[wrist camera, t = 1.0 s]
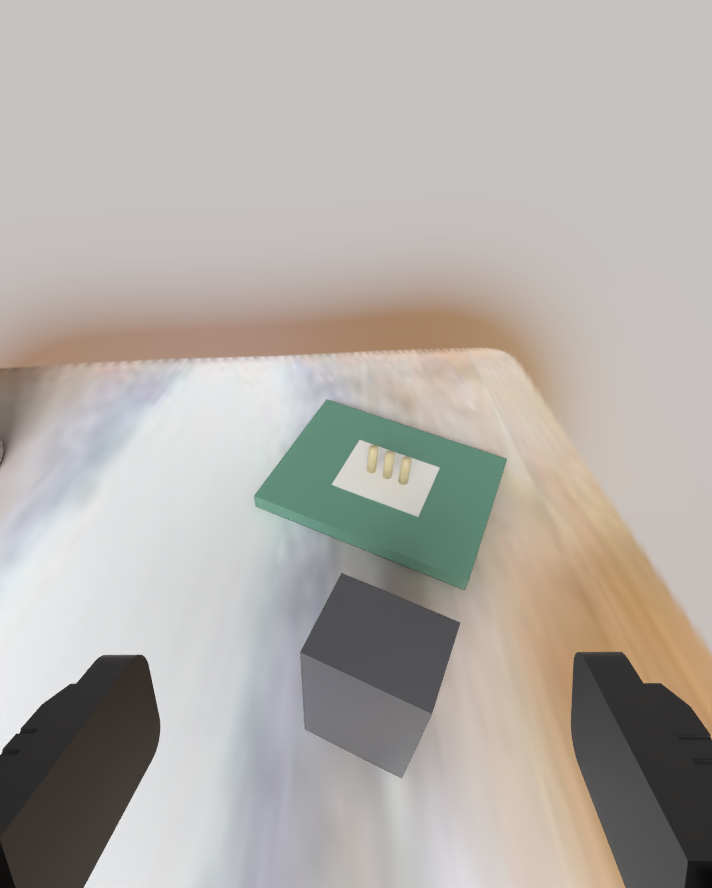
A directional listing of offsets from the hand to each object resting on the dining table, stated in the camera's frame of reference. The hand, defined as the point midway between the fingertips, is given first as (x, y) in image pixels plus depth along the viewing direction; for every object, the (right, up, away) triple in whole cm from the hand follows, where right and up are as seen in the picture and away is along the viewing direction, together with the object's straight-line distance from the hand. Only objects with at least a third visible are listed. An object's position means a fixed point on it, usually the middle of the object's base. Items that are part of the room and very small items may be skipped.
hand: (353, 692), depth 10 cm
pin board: (+2, +1, +31) cm, 31 cm away
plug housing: (+1, -10, +19) cm, 22 cm away
